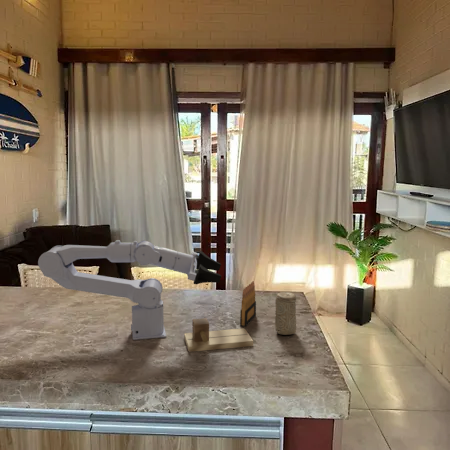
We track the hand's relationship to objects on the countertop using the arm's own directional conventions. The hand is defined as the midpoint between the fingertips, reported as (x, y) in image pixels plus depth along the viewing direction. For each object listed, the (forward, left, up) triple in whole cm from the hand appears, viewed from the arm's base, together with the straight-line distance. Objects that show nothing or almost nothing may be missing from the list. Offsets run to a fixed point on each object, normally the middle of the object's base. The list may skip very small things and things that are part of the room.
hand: (220, 273), depth 124 cm
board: (-2, -7, -18) cm, 19 cm away
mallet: (-7, -10, -17) cm, 20 cm away
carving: (+19, -5, -18) cm, 27 cm away
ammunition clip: (+11, +7, -18) cm, 22 cm away
